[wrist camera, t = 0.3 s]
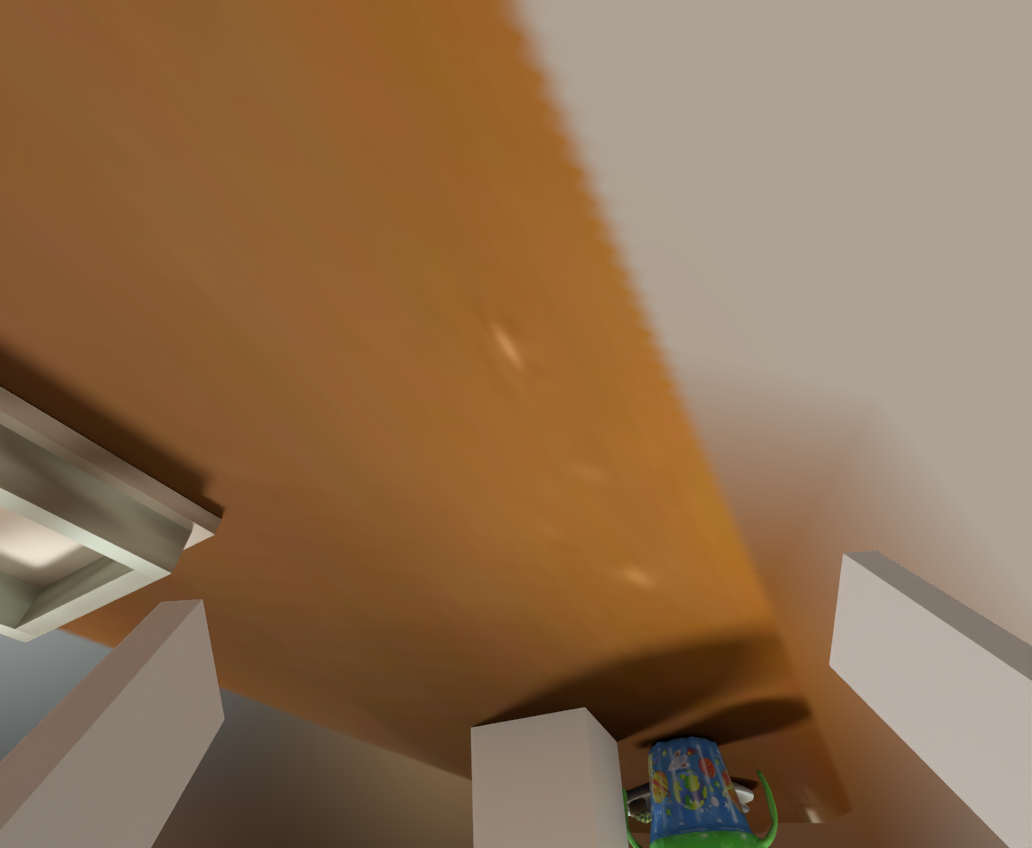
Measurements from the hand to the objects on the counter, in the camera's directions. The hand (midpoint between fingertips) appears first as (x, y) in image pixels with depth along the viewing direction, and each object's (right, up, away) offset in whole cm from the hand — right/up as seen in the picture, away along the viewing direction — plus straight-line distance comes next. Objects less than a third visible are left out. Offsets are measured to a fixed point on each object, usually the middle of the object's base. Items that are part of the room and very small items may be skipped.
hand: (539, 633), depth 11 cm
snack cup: (+18, -31, +49) cm, 60 cm away
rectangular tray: (-27, +1, +17) cm, 32 cm away
